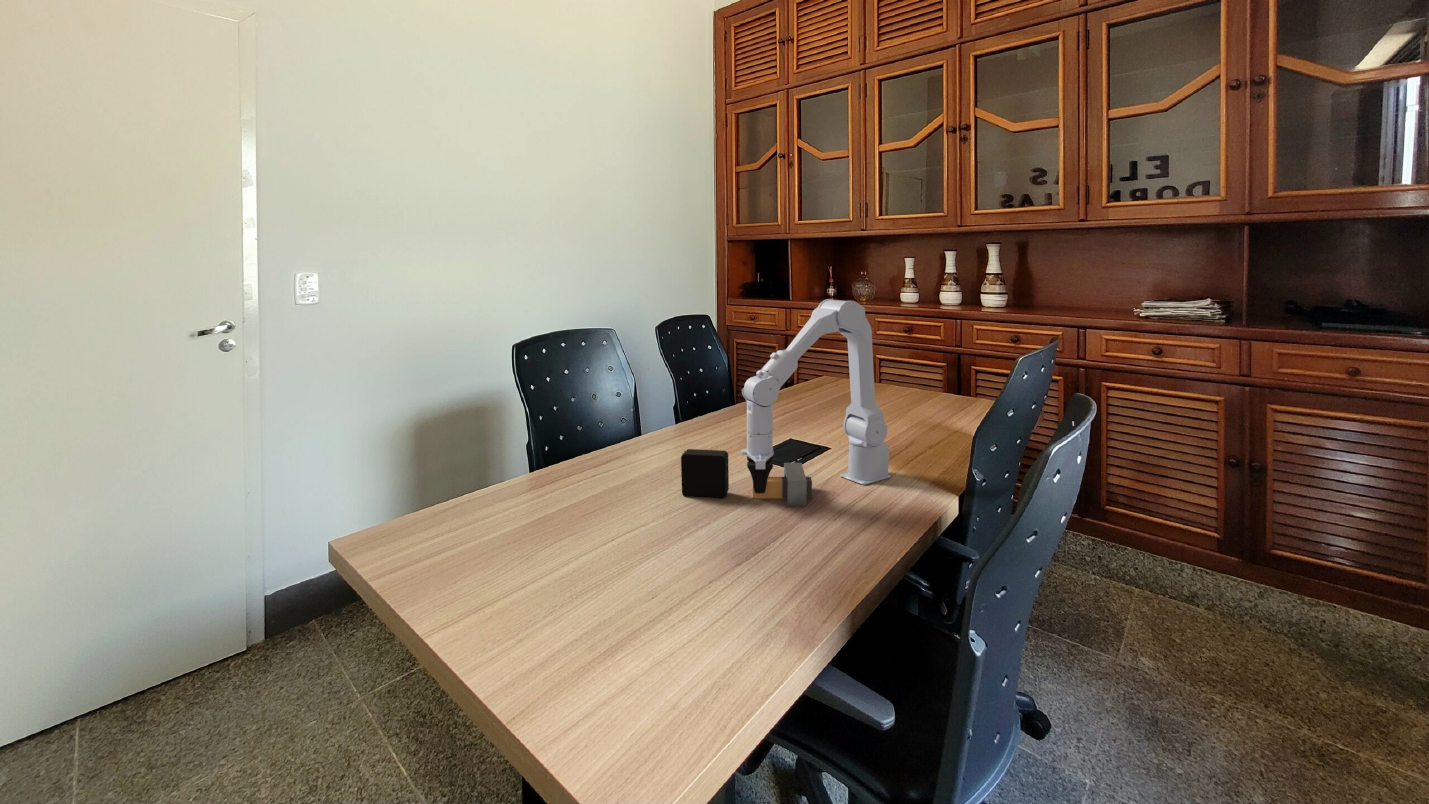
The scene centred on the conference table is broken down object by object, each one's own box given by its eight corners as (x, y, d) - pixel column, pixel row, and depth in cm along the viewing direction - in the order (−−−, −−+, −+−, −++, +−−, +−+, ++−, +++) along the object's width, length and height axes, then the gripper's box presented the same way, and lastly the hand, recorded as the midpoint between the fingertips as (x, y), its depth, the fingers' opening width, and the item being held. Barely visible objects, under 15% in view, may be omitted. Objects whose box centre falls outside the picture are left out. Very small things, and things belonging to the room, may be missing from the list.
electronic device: (725, 499, 135) (725, 456, 133) (681, 496, 137) (680, 454, 135) (728, 492, 139) (728, 450, 137) (686, 489, 141) (685, 448, 139)
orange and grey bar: (810, 493, 138) (810, 476, 137) (811, 498, 135) (812, 481, 134) (752, 493, 138) (752, 476, 138) (753, 498, 136) (752, 481, 135)
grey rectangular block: (801, 486, 142) (801, 462, 141) (806, 506, 131) (806, 480, 129) (783, 486, 143) (784, 462, 141) (787, 506, 131) (787, 480, 130)
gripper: (741, 423, 141) (741, 478, 144) (741, 440, 127) (741, 501, 130) (772, 423, 141) (771, 478, 144) (775, 440, 126) (774, 501, 129)
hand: (759, 489), depth 137 cm, fingers closed on orange and grey bar, 3 cm apart
